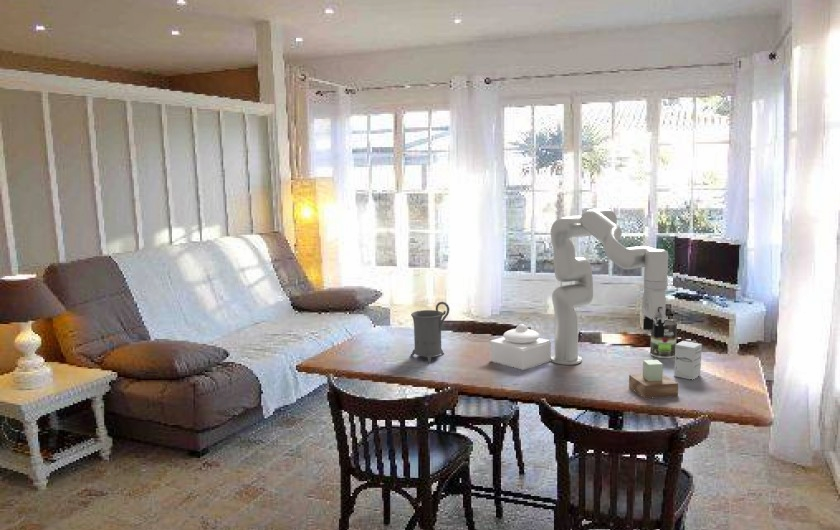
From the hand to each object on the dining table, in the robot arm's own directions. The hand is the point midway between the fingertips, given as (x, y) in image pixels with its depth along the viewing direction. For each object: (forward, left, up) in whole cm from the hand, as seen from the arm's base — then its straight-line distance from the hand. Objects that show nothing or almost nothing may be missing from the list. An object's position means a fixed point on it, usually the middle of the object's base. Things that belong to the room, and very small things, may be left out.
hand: (653, 333), depth 222 cm
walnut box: (0, 0, -22) cm, 22 cm away
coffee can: (-43, +21, -21) cm, 52 cm away
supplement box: (-15, +19, -21) cm, 32 cm away
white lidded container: (-41, -40, -22) cm, 61 cm away
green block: (0, 0, -17) cm, 17 cm away
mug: (-49, -77, -21) cm, 93 cm away
